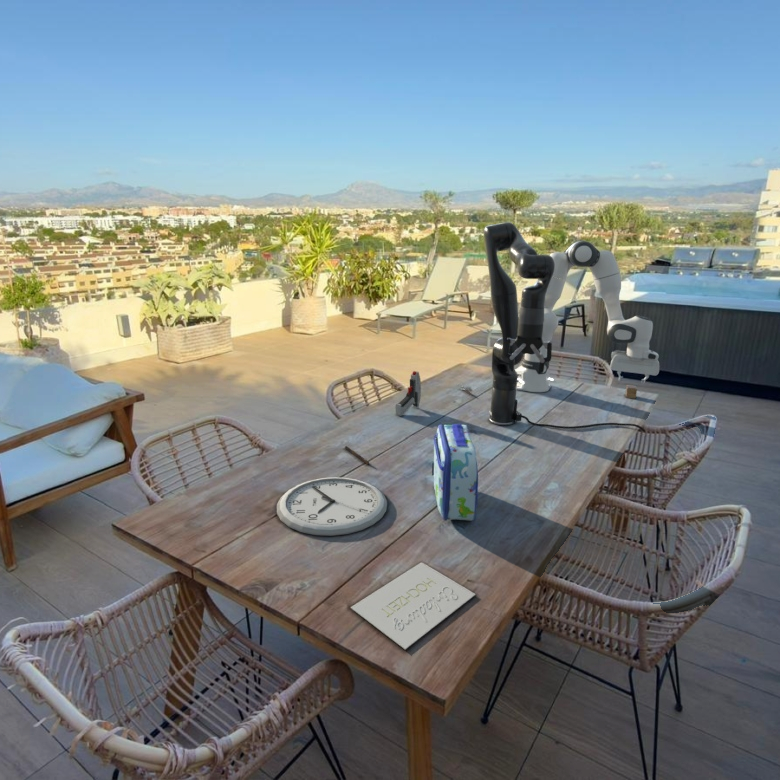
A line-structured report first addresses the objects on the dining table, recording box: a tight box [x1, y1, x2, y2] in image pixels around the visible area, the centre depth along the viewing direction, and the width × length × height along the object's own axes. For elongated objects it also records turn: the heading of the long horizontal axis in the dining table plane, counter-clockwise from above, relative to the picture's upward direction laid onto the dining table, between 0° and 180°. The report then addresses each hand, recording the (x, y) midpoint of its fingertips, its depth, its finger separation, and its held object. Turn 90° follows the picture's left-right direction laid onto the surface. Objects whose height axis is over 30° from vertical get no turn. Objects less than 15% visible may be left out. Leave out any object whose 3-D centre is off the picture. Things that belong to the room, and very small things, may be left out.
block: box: [624, 384, 638, 400], centre depth 240 cm, size 5×4×5 cm
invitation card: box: [350, 562, 476, 651], centre depth 106 cm, size 21×1×15 cm
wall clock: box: [276, 476, 388, 537], centre depth 142 cm, size 30×2×30 cm
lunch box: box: [431, 423, 479, 522], centre depth 142 cm, size 26×11×21 cm, turn 179°
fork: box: [457, 383, 474, 397], centre depth 243 cm, size 3×16×2 cm, turn 15°
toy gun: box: [395, 370, 422, 417], centre depth 214 cm, size 2×16×15 cm
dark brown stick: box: [344, 445, 370, 465], centre depth 173 cm, size 15×1×1 cm, turn 34°
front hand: (526, 372), depth 166 cm, fingers open, 8 cm apart
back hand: (631, 381), depth 239 cm, fingers open, 8 cm apart
